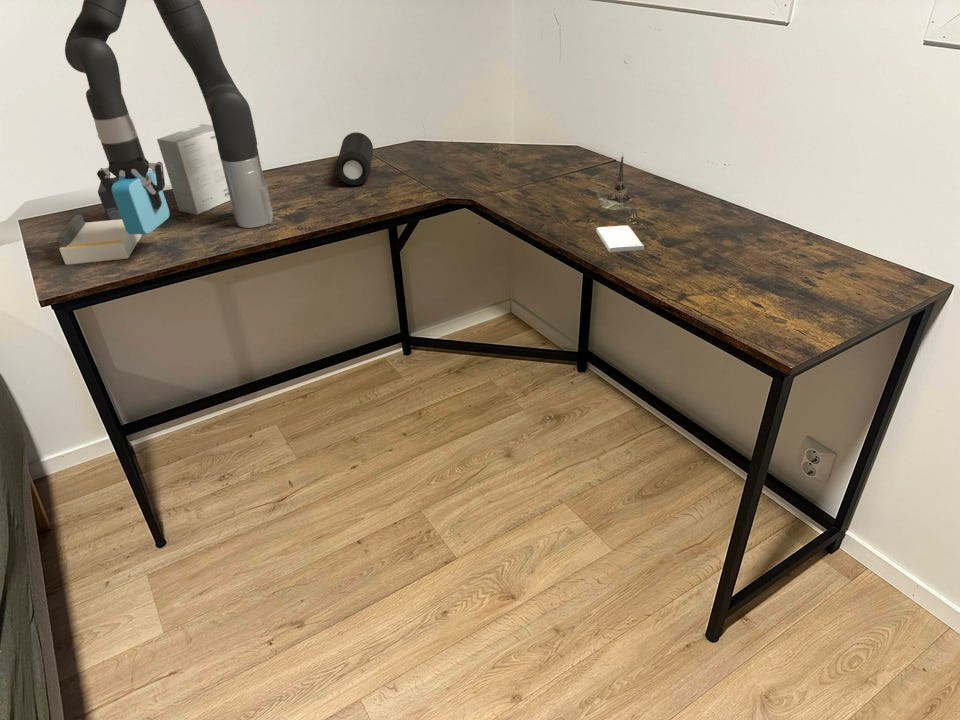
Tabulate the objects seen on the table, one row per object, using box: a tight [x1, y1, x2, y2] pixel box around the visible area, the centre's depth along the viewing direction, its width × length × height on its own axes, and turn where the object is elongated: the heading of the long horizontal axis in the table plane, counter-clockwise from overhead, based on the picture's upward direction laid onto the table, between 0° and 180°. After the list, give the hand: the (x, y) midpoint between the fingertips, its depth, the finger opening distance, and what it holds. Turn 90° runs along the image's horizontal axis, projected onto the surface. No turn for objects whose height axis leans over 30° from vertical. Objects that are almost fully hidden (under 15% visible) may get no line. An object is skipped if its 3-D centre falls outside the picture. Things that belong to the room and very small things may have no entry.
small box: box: [97, 176, 122, 221], centre depth 177 cm, size 11×6×10 cm, turn 21°
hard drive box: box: [156, 123, 231, 216], centre depth 183 cm, size 16×8×20 cm, turn 150°
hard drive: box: [595, 225, 645, 253], centre depth 160 cm, size 2×8×12 cm
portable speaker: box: [335, 131, 374, 186], centre depth 204 cm, size 26×10×10 cm, turn 5°
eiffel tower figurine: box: [595, 153, 640, 211], centre depth 178 cm, size 15×10×13 cm
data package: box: [112, 169, 170, 235], centre depth 155 cm, size 12×4×12 cm, turn 174°
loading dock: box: [56, 214, 143, 265], centre depth 164 cm, size 14×16×6 cm
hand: (144, 209), depth 156 cm, fingers closed on data package, 5 cm apart
